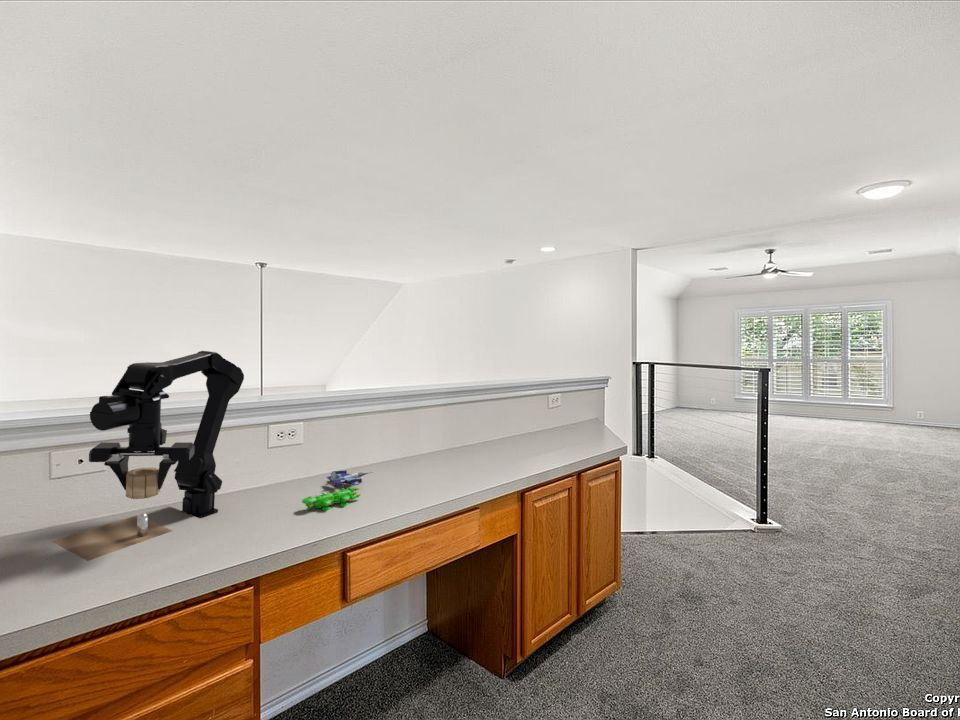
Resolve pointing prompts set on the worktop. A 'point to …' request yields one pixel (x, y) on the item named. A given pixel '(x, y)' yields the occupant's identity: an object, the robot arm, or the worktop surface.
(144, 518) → the silver metal cylinder
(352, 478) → the toy airplane
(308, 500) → the crocodile figurine
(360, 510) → the worktop surface
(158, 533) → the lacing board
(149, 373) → the robot arm
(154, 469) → the wooden octagonal holder
